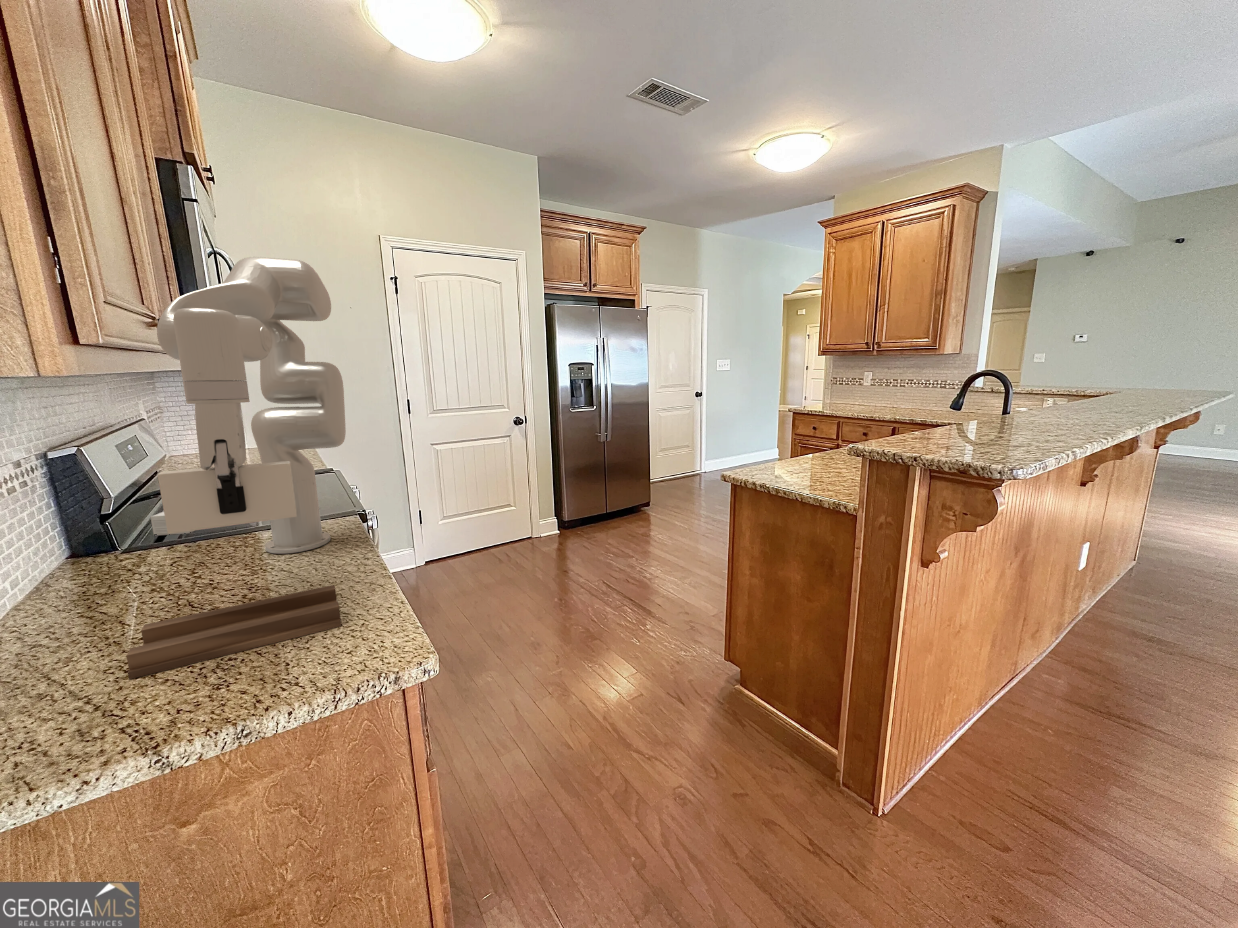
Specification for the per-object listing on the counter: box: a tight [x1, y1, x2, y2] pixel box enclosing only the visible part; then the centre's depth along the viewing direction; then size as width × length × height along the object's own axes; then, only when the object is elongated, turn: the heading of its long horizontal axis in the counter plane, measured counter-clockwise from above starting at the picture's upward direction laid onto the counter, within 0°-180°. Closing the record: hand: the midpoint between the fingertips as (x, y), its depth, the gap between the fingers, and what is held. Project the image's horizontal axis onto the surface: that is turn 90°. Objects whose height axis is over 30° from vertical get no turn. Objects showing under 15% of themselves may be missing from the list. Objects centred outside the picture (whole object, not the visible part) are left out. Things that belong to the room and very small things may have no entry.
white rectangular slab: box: [156, 461, 297, 535], centre depth 77 cm, size 3×16×9 cm, turn 123°
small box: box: [150, 511, 196, 536], centre depth 123 cm, size 8×8×5 cm
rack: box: [126, 584, 342, 680], centre depth 73 cm, size 11×24×3 cm, turn 124°
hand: (234, 508), depth 77 cm, fingers closed on white rectangular slab, 3 cm apart
